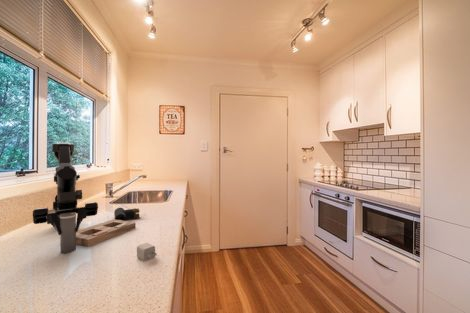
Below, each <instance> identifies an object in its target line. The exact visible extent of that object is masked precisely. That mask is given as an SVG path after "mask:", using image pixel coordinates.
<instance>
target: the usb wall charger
mask: <svg viewBox="0 0 470 313" xmlns="http://www.w3.org/2000/svg"><path fill="white" fill-rule="evenodd" d="M156 256H158V253H157V252H156V246H155V245H153V244H150V243H149V242H145V243H142V244H139V245H137V246H136V257H137V258H138V259H140V260H141V261H143V262H147V261H150V260H152V259H155V257H156Z"/></svg>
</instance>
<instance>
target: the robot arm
mask: <svg viewBox="0 0 470 313" xmlns="http://www.w3.org/2000/svg"><path fill="white" fill-rule="evenodd" d="M51 145H52V147H51V148H52V152H51V153H53V156H54V158H55V159H56V160H57V162H58V164H57V166H56V167H55V173H53V183H55V184H56V185H57V187H56V189H57V190H56V195H55V197H54V201H52V209H49V207H40V208H35V209H34V210H32V221H33V224H35V225H39V224H44V223H45V224H47V225H51V226H52V227H53V228H54V229H55V231H56V233H57V235H58V236H60V214H62V213H67V212H76V232H78V230H80V226H81V223H82V222H83V220H84V219H87V217H92V216H96V215H97V214H98V211H99V210H98V209H99V204H98V202H96V201H91V202H85V203H84V206H82V207H81V206H80V207H78V200H83V190H82V189H77V190H76V184H77V181H78V180H79V179H80V178H81V175H79V174H78V171H76V168H75V166H74V165H72V161H71V158H72V156H73V153H75V144H72V143H71V142H54V143H52V144H51Z"/></svg>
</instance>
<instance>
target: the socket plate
mask: <svg viewBox="0 0 470 313" xmlns="http://www.w3.org/2000/svg"><path fill="white" fill-rule="evenodd" d="M134 229H136V221H135V222H134V221H128V220H126V221H122V220H116V219H115V218H112V219H109V220H107V221H103V222H100V223H97V224H94V225H90V226H87V227H84V228H81V229H80V228H79V229H78V232H76V245H80V246H85V247H91V246H94V245H95V244H98V243H101V242H103V241H106V240H108V239H111V238H113V237H116V236H119V235H121V234H124V233H126V232H129V231H131V230H134Z"/></svg>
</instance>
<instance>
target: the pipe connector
mask: <svg viewBox="0 0 470 313" xmlns="http://www.w3.org/2000/svg"><path fill="white" fill-rule="evenodd" d="M113 214H114V219H116V220H122V221H128V220H133V219H139V218H140V208H135V207H134V208H131V209H129V208H128V209H125V208H123V207H117V208H115V209H114V213H113Z"/></svg>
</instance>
